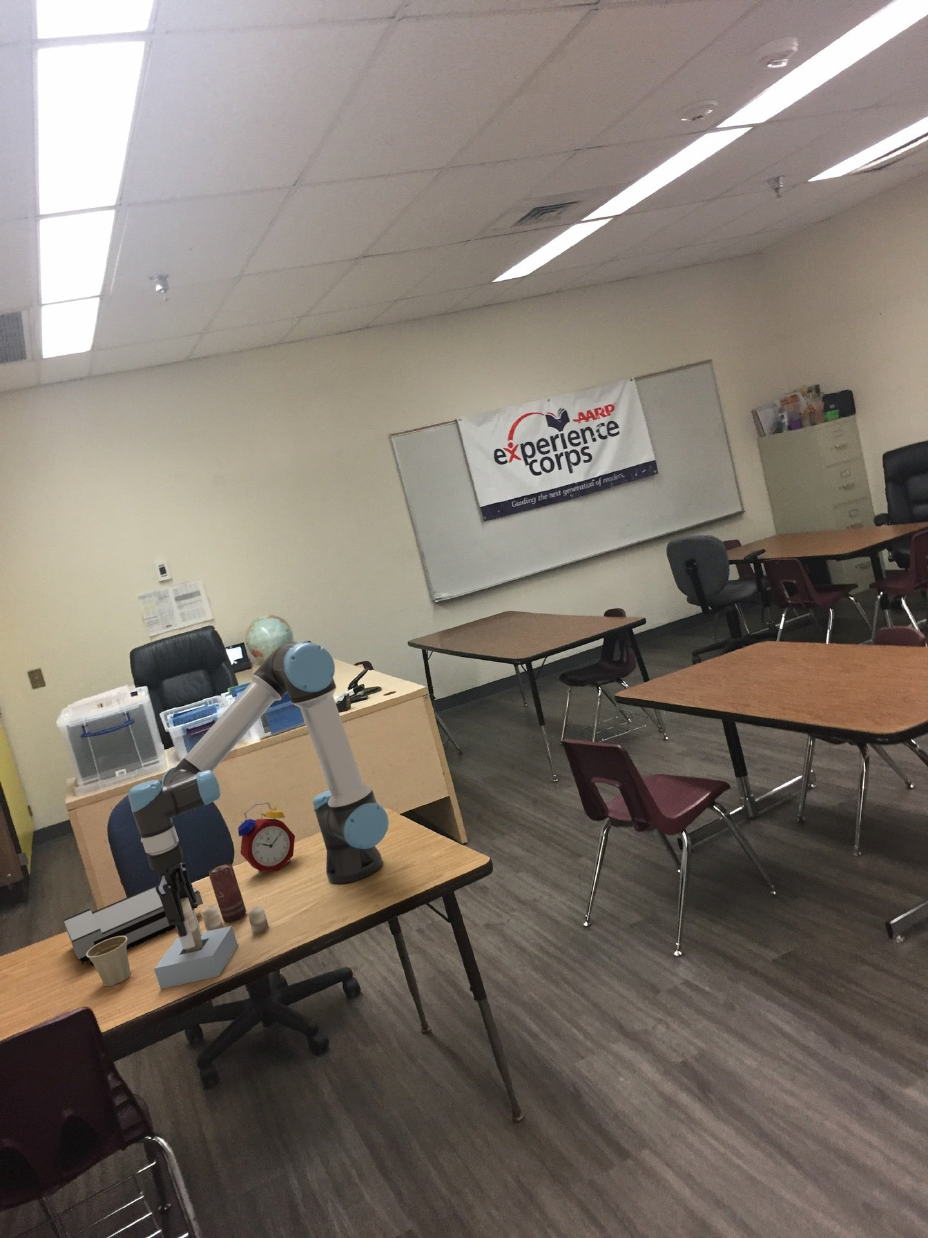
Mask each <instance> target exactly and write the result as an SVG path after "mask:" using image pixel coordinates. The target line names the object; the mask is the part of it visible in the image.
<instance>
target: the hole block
mask: <svg viewBox="0 0 928 1238" xmlns="http://www.w3.org/2000/svg"><path fill="white" fill-rule="evenodd" d="M201 933H202V936H201V940H202V943H203V946H204V947H203V948H202V950H199V951H195V952H190V953H186V950H185V949H183V947H182V944H181V941H180V938H179V937H176V939H175V940H174V941H173V942H172V944H171V945H170V946H169V948H168V949H167V951H166V952H165V954H163V956H162V957H161V959H160V960H159V961H158V963H157V964H156V965H155V967H154V974H155V976H156V978H157V982H158V985H159V988H160V989H161V990H162V989H166V988H171V987H175V986H179V985H183V984H189V983H193V982H197V981H199V982H200V981H203V980H207V979H211V978H215V977H220V975H221V974H222V972H223V971H224V969H225V967H226V966H227V964H228V963H229V960H230V959H231V957H232V956H233V955H234V953H235V951H236V949H237V948H238V946H239V944H238V940H237V938H236V935H235V931H234V928H233V925H230V926H224V928H220V929H215V930H211V931H207V930H206V931H203V932H202V931H201Z"/></svg>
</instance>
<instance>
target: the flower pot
mask: <svg viewBox="0 0 928 1238" xmlns="http://www.w3.org/2000/svg"><path fill="white" fill-rule="evenodd" d="M126 947H127V937H126V936H117V937H113V938H110V939H107V940H104V941H102V942H100V943H98V944H96V945H95V946H93V947H92V948H91V949H90V950H89V951H88V952H87V953H86V956H87V957H88V958H89V959H90V961H91V962H93V964H94V965H93V966H94V967H95V970H96V972H97V973H98V976H99V977H100V979H101V981H102V984H103V985H104V986H105V987H112V986H116V985H117V984H118V983H122V982H124V981H126V980H128V978H129V977H130V976H131V973H132V971H131V967H130V961H129V955H128V950H127V948H126Z"/></svg>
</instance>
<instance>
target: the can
mask: <svg viewBox="0 0 928 1238" xmlns="http://www.w3.org/2000/svg"><path fill="white" fill-rule="evenodd" d="M208 877H209V880H210V883H211V886H212V889H213V892H214V895H215V898H216V902H217V907H218V910H219V913H220V916H221V920H222V922H225V923H227V924H229V923H235V922H237V921H240V920H241V919H243V918H244V917H245V916H246V914H247V908H246V906H245V905H246V904H245V902H244V899H243V896H242V893H241V889H240V887H239V886H240V885H239V883H238V879H237V877H236V873H235V870H234V866H233V865H232V864H231V863H230V862H223V863H219V864H217V865H214V866H213V867H211V868H210V869H209V871H208Z"/></svg>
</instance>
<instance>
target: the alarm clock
mask: <svg viewBox="0 0 928 1238" xmlns="http://www.w3.org/2000/svg"><path fill="white" fill-rule="evenodd" d="M259 805H267V806H268V808H269V809H268V810H267V812H266V813H264V812H260V816H261V818H257V819H253V818H249V819H248V817H247V813H248V812H249V811H250V810H252V809H253V808H254V807H256V806H259ZM243 813H244V818H245V819H244V820H243V821H242V820H241V822H240V823H241V824H239V826H238V827H237V832H238V837H241V843H240V854H241V856H242V857H243V858H244V859H245V860H246V861H247V862H248V864H250V866H251V867H252V868H253V869H255V870H257V875H258V876H259V877H260V876H261V875H262V873H263V872H272V871H280V869H282V868H283V867H284V866H285V865H286V864H288V862H292V857H294V852H295V839H296V835H295V834H294V833H293V831H292V830H290V828H289V827H288V826H287V825H286V824H285V822H284V821H282V820H280V819H285V818H286V815H285V814H284V812H283V811H282V810H279V809H277V807H276V806H274V808H273V807H272V806H271V804H270V803H269V801H268V802H258V803H254V804H253V805H251V807H249V808H248V809H246V810H245V811H244V812H243ZM263 817H264V818H263Z"/></svg>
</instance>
